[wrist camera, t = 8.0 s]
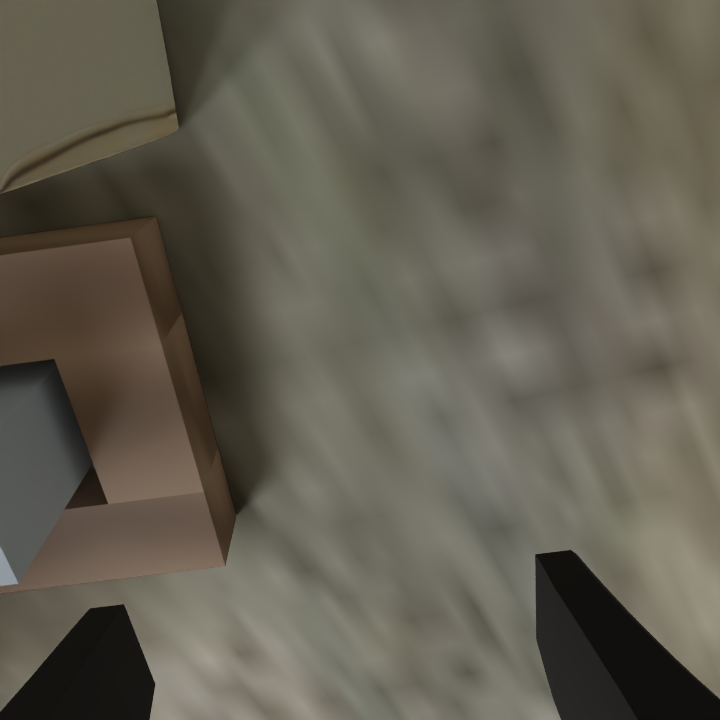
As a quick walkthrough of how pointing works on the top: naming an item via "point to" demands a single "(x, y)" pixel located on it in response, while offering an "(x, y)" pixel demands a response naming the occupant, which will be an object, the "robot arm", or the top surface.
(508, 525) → the top surface
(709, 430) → the top surface
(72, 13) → the skincare box
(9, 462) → the peg
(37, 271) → the walnut socket block
